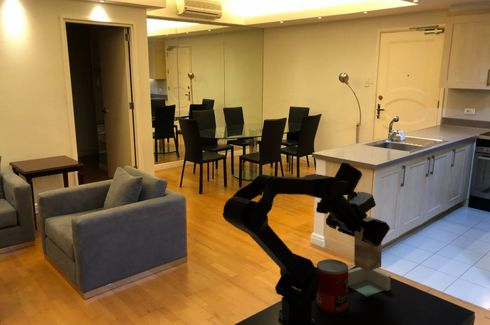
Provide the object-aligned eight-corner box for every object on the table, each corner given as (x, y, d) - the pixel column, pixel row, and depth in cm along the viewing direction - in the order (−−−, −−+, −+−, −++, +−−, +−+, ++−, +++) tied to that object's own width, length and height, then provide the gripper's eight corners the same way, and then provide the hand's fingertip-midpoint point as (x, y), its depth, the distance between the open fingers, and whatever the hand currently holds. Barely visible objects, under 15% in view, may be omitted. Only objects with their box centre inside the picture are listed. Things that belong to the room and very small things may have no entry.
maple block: (367, 271, 107) (367, 223, 105) (354, 264, 111) (354, 219, 109) (381, 267, 109) (381, 220, 107) (367, 261, 114) (368, 216, 112)
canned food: (340, 316, 98) (340, 274, 96) (311, 307, 103) (310, 267, 101) (353, 303, 104) (353, 263, 102) (324, 295, 109) (324, 256, 107)
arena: (355, 302, 104) (355, 287, 104) (333, 288, 112) (333, 275, 111) (390, 289, 110) (390, 275, 110) (366, 277, 118) (366, 264, 117)
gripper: (385, 191, 96) (415, 227, 103) (333, 178, 113) (362, 210, 120) (360, 228, 94) (392, 262, 101) (311, 210, 110) (342, 240, 117)
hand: (371, 241), depth 110 cm, fingers closed on maple block, 5 cm apart
